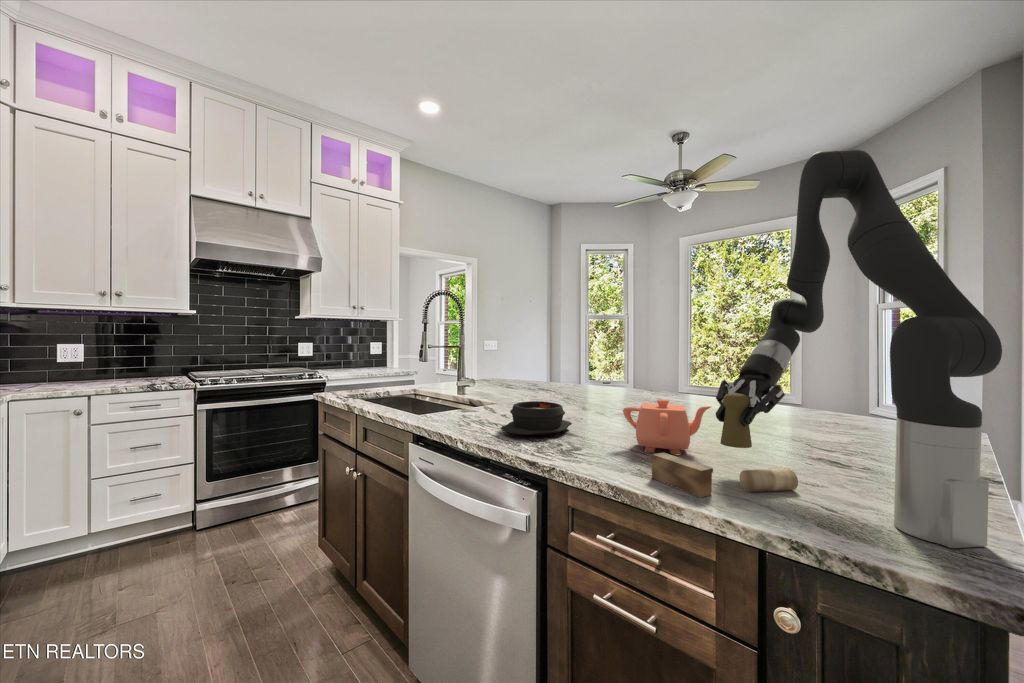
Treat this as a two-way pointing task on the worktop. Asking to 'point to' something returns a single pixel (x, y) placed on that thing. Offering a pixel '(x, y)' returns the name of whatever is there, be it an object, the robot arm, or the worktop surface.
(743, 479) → the roller
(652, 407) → the teapot
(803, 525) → the worktop surface
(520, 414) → the casserole
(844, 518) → the worktop surface
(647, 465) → the worktop surface
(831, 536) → the worktop surface
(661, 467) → the block
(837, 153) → the robot arm
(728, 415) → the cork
